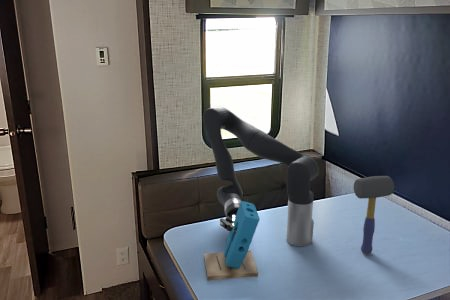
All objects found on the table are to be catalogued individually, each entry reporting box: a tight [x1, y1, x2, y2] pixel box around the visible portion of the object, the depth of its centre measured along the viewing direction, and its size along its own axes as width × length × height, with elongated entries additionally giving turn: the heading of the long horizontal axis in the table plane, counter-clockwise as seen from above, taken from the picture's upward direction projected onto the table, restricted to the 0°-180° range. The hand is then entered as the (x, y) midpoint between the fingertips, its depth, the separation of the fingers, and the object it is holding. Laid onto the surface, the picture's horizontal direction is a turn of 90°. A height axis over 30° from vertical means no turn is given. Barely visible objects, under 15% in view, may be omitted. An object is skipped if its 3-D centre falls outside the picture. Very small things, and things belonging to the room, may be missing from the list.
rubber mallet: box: [353, 175, 395, 256], centre depth 155 cm, size 12×8×30 cm, turn 103°
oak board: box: [203, 249, 259, 281], centre depth 151 cm, size 17×14×2 cm
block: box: [223, 200, 260, 268], centre depth 148 cm, size 12×5×20 cm, turn 6°
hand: (241, 233), depth 148 cm, fingers closed on block, 2 cm apart
